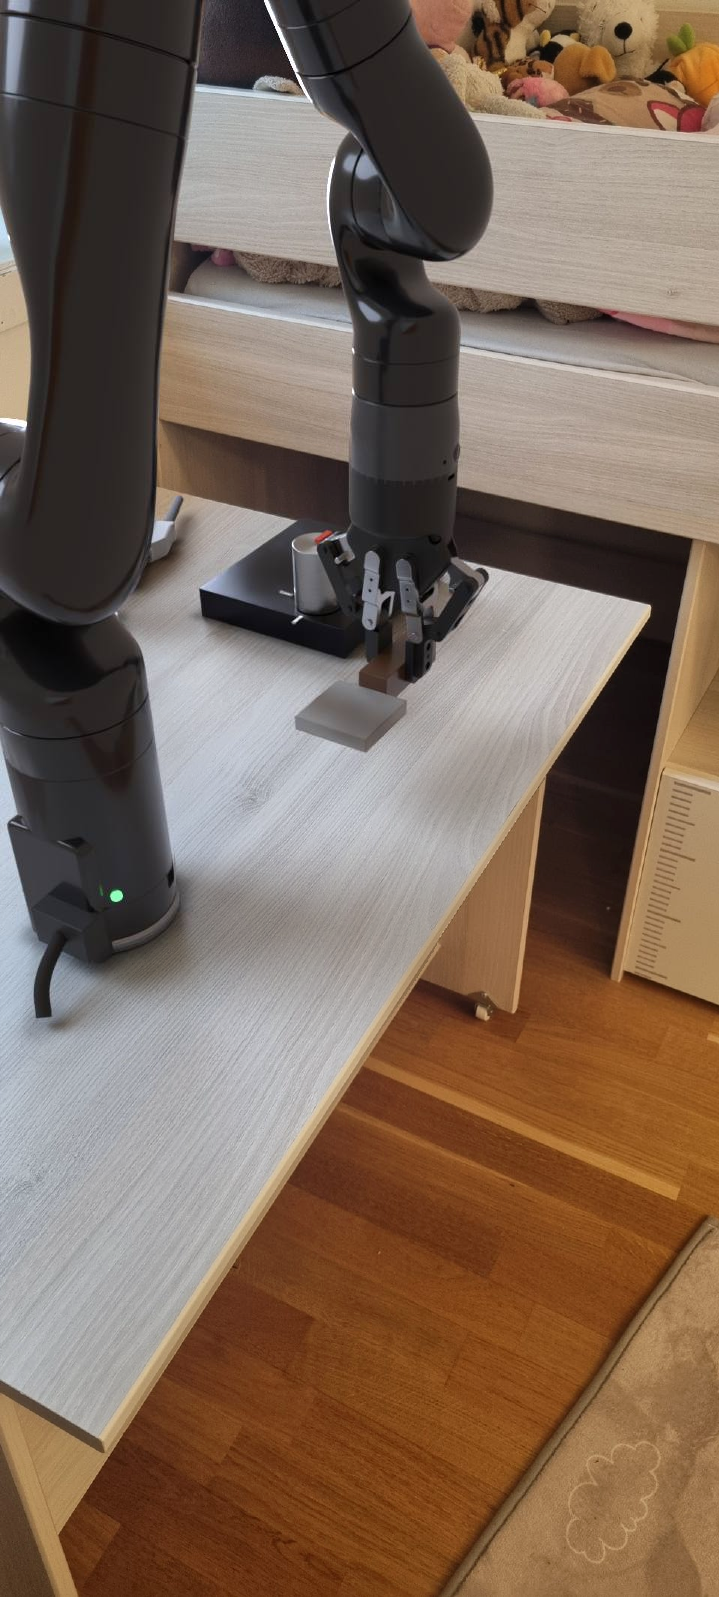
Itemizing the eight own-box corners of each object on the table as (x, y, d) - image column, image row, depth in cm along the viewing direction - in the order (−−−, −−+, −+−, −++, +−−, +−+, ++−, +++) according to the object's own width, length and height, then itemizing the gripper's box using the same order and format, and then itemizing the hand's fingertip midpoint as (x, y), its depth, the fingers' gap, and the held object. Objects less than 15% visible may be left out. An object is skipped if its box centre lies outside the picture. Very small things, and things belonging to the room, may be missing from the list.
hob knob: (326, 619, 108) (324, 555, 104) (285, 607, 109) (282, 544, 105) (351, 598, 110) (350, 535, 107) (311, 587, 112) (309, 525, 108)
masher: (389, 646, 97) (390, 620, 95) (456, 666, 94) (457, 639, 93) (294, 729, 87) (293, 701, 86) (365, 753, 85) (366, 725, 83)
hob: (337, 665, 107) (336, 634, 105) (193, 622, 114) (190, 592, 112) (437, 577, 120) (438, 548, 118) (303, 543, 127) (302, 515, 125)
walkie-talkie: (153, 595, 118) (190, 509, 134) (148, 554, 115) (186, 471, 131) (66, 593, 118) (113, 508, 134) (58, 552, 116) (107, 470, 131)
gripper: (288, 453, 82) (296, 670, 93) (469, 495, 76) (456, 721, 87) (345, 420, 87) (346, 629, 98) (519, 457, 82) (500, 675, 92)
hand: (398, 672), depth 92 cm, fingers closed on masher, 2 cm apart
